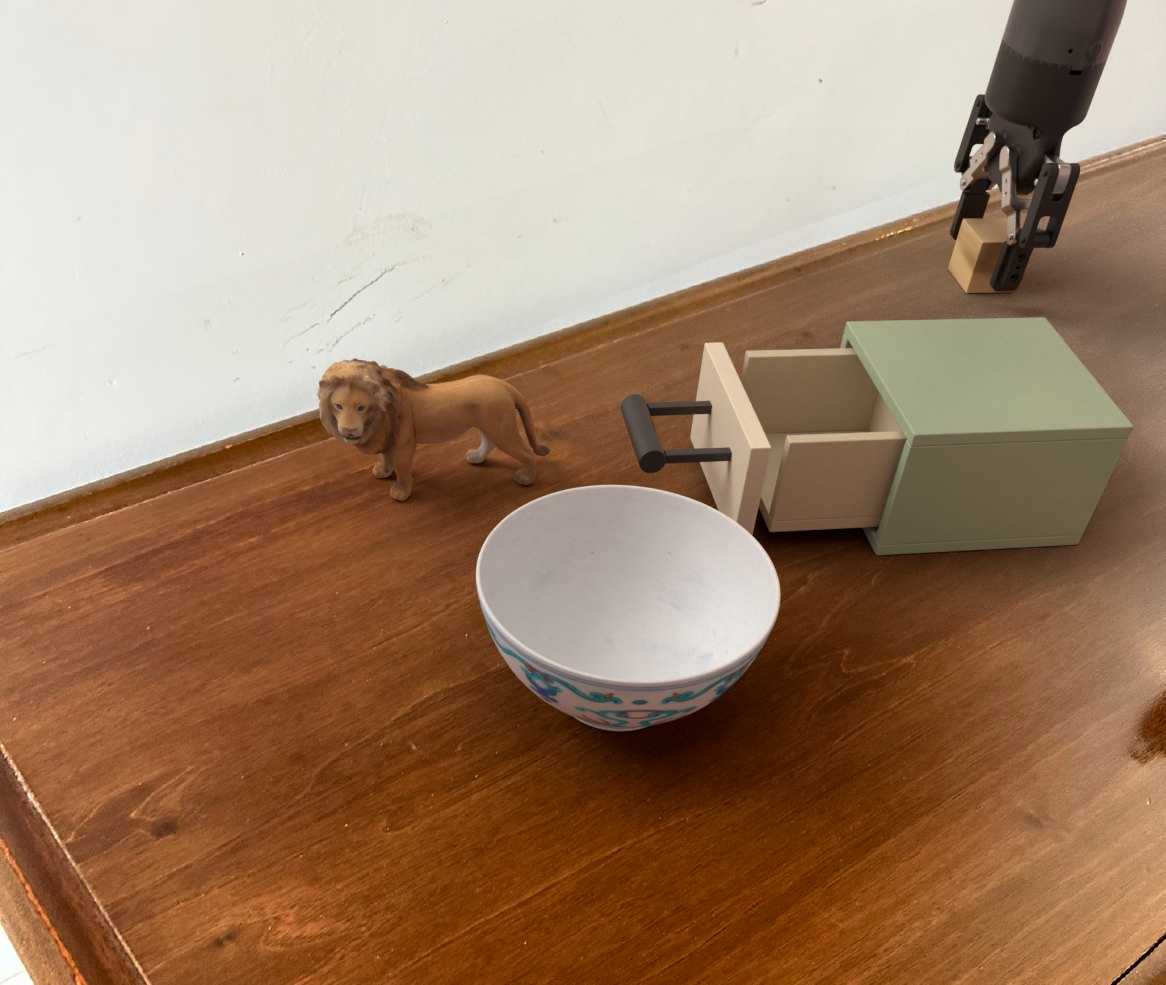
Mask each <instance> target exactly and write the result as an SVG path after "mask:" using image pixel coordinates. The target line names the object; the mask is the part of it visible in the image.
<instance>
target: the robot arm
mask: <svg viewBox="0 0 1166 985" xmlns="http://www.w3.org/2000/svg"><path fill="white" fill-rule="evenodd" d="M1127 4H1128V0H1013V2H1012V4H1011V8H1010V11H1009V14H1008V18H1007V21H1006V24H1005V28H1004V30H1003V35H1002V36H1001V41H1000V45H999V47H998V51H997V54H996V57H995V60H994V62H993V67H992V70H991V73H990V76H989V80H988V82H987V87H986V90H985V93H984V94H983V93H979V94H977V95H976V97H975V100H974V102H973V105H972V108H971V111H970V115H969V117H968V121H967V122H966V126H965V130H964V133H963V136H962V139H961V141H960V144H959V148H958V151H957V154H956V157H955V159H954V162H953V163H954V165H953V170H954V172H955V173H958V174H959V173H960V175H961V176H960V180H959V189H960V191H961V194H960V198H959V200H958V204H957V208H956V210H955V214H954V217H953V220H952V223H951V225H950V230H949V235H950V236H951V238H952V239H953V240H954V241H956V240H957V237H958V234H959V230H960V227H961V224H962V221H963V219H974V218H984V217H985V213H986V210H987V207H988V205H989V201H990V198H991V194H990V193H989V192H988V191H992V190H993V188H994V187H995V186H996V185H997V187H998V190H999V192H1000V193H1001V203H1000V204H1001V207H1000V208H1001V209H1000V210H1001V212H1002V213H1003V214H1005V215H1006V218H1007V237H1006V240H1007V241H1004V243H1003V246H1002V249H1001V252H1000V254H999V257H998V260H997V263H996V266H995V269H994V272H993V275H992V277H991V280H990V286H991V287H992V288H993V289H994V291H1014V292H1015V291H1016V290H1017V289H1018V288H1019V287H1020V284H1021V283H1022V280H1023V278H1024V275H1025V273H1026V269H1027V267H1028V264H1029V262H1030V259H1031V256H1032V254H1033V251H1034V249H1054V247H1055V246H1056V244H1057V241H1058V238H1059V236H1060V233H1061V230H1062V227H1063V224H1064V221H1065V218H1066V215H1067V212H1068V210H1069V207H1070V204H1071V201H1072V198H1073V196H1074V192H1075V189H1076V186H1077V183H1078V180H1079V177H1080V175H1081V165H1080V164H1079V163H1078V162H1065V161H1064V160H1063V159H1061V158H1060V157H1061V150H1062V148H1061V147H1062V143H1063V139H1064V136H1065V135H1066V134H1067V133H1068V132H1069V131H1070V130H1071V129H1073V128H1074V127H1077V126H1079V125H1080V124H1081V123H1083V122H1084V120H1086V117H1087V116H1088V113H1089V110H1090V107H1091V105H1092V102H1093V99H1094V96H1095V94H1096V91H1097V88H1098V87H1099V83H1100V80H1101V78H1102V75H1103V72H1104V70H1105V67H1106V65H1107V62H1108V60H1109V56H1110V54H1111V50H1112V48H1113V45H1114V42H1115V40H1116V37H1117V35H1118V32H1119V29H1120V27H1121V25H1122V20H1123V17H1124V14H1125V11H1126V7H1127ZM975 145H981V146H980V147H979V149H977V151H976V152H975V153H974V154H973V155H971V152H972V150H973V147H974V146H975ZM1031 193H1033V194H1032V197H1031V198H1021V197H1019V196H1029V195H1030V194H1031ZM1022 214H1025V215H1026V216H1025V220H1024V222H1023V225H1022V226H1021V224H1022ZM1045 217H1049V218H1048V220H1047V221H1048V222H1047V224H1046V228H1045Z"/></svg>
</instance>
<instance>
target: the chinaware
mask: <svg viewBox="0 0 1166 985" xmlns="http://www.w3.org/2000/svg"><path fill="white" fill-rule="evenodd" d="M475 584H476V590H477V596H478V600H479V604H480V607H481V611H482V615H483V618H484V621H485V624H486V626H487V629H488V631H489V634H490V636H491V638H492V640H493V642H494V645H495V646H496V648H497V650H498V653H499V654H500V655H501V657H502V658H503V660H504V662H505V663H506V664H507V666H508V667H509V669H510V670H511V671H512V672H513V674H514V675H515V676H516V677H517V678H518V679H519V680H520V682H521V683H522V684H523V685H524V686H525V687H526V688H527V689H529V690H530V691H531V692H532V693H533V694H535V696H537V697H538V698H539V699H541V700H542V701H543V702H545V703H547V704H548V705H550V706H551V707H552V708H555V709H557V710H558V711H560V712H562V713H564V714H566V715H568V716H571V717H573V718H574V719H576V720H577V721H579V722H581V723H583V724H585V725H587V726H590V727H593V728H596V729H599V730H602V731H603V730H604V731H610V732H630V731H636V730H641V729H645V728H647V727H651V726H657V725H662V724H666V723H670V722H673V721H676V720H679V719H681V718H684V717H686V716H689V715H691V714H693V713H695V712H698V711H699V710H700V709H703V708H705V707H706V706H708V705H709V704H710V703H713V702H714V701H716V700H717V699H718V698H719V697H721V696H722V695H723V694H724V693H726V692H727V691H728V690H729V689H730V688H731V687H732V686H733V685H734V684H735V683H736V682H737V681H738V680H739V679H740V678H741V677H742V676H743V674H745V673H746V671H747V670H748V669H749V668H750V666H751V665H752V663H753V662H754V661H755V659H756V658H757V657H758V655H759V653H760V652H761V650H762V649H763V647H764V645H765V644H766V642H767V641H768V638H769V636H770V634H771V633H772V631H773V628H774V626H775V624H776V621H777V618H778V615H779V612H780V607H781V597H782V596H781V585H780V584H781V583H780V579H779V575H778V573H777V570H776V568H775V565H774V563H773V561H772V559H771V557H770V556H769V553H768V552H767V551H766V550H765V549H764V547H763V546H762V544H761V543H760V542H759V541H758V540H757V539H756V538H755V537H754V536H753V535H751V534H750V533H749V532H748V531H747V530H746V529H744V528H743V527H742V526H741V525H739V524H738V523H737V522H735V521H734V520H732V519H731V518H729V517H728V516H726V515H725V514H723V513H721V512H719V510H718V509H716V508H713V507H712V506H710V505H708V504H705V503H703V502H701V501H698V500H697V499H696V500H695V499H693V498H690V497H688V496H685V495H682V494H679V493H675V492H670V491H667V490H663V489H657V488H653V487H647V486H638V485H626V484H597V485H588V486H587V485H585V486H578V487H573V488H568V489H564V490H563V489H562V490H559V491H556V492H552V493H549V494H546V495H544V496H540V497H538V498H536V499H533V500H530V501H529V502H527V503H525V504H523V505H521V506H519V507H518V508H517V509H515V510H513V511H512V512H510V513H509V514H508V515H507V516H505V517H504V518H503V519H502V520H501V521H500V522H499V523H498V524H496V526H494V528H493V529H492V530H491V531H490V533H489V534H488V535H487V537H486V539H485V540H484V542H483V544H482V546H481V549H480V550H479V554H478V557H477V560H476V568H475Z"/></svg>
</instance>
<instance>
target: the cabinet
mask: <svg viewBox="0 0 1166 985" xmlns="http://www.w3.org/2000/svg"><path fill="white" fill-rule="evenodd" d="M839 348H853V349H854V351H855V352H856V354H857V356H858V357H859V359H860V361H861V362H862V364H863V366H864V367H865V369H866V371H867V373H868V374H869V376H870V378H871V379H872V381H873V383H874V384H875V386H876V388H877V389H878V391H879V393H880V395H881V396H882V398H883V400H884V401H885V403H886V405H887V406H888V408H889V410H890V411H891V413H892V415H893V417H894V418H895V420H896V422H897V423H898V425H899V427H900V428H901V430H902V432H903V433H904V435H905V437H906V439H907V440H906V442H905V445H904V448H903V452H902V455H901V458H900V461H899V464H898V467H897V471H896V474H895V477H894V480H893V483H892V487H891V490H890V493H889V496H888V499H887V502H886V506H885V509H884V512H883V515H882V518H881V522H880V525H879V527H862V531H863V532H864V535H865V537H866V538H867V541H868V542H869V544H870V546H871V549H872V550H873V553H874V554H875V556H890V555H910V554H925V553H926V554H929V553H946V552H947V553H948V552H950V553H951V552H964V551H965V552H969V551H983V550H1001V549H1003V550H1005V549H1020V548H1022V549H1024V548H1039V547H1057V546H1058V547H1059V546H1076V545H1077V546H1078V545H1079V543H1080V541H1081V539H1082V537H1083V534H1084V533H1085V530H1086V529H1087V527H1088V524H1089V522H1090V520H1091V518H1092V516H1093V514H1094V512H1095V510H1096V508H1097V505H1098V503H1099V501H1100V499H1101V497H1102V495H1103V493H1104V491H1105V489H1106V486H1107V484H1108V483H1109V480H1110V478H1111V476H1112V474H1113V472H1114V469H1115V468H1116V465H1117V463H1118V461H1119V459H1120V457H1121V455H1122V453H1123V451H1124V449H1125V447H1126V445H1127V442H1128V441H1129V438H1130V436H1131V433H1132V432H1133V430H1134V425H1133V423H1132V422H1131V421H1130V420H1129V419H1128V418H1127V416H1126V414H1124V413H1123V412H1122V410H1121V408H1120V407H1119V406H1118V405H1117V404H1116V403H1115V401H1114V400H1113V398H1111V396H1110V395H1109V393H1107V391H1105V389H1104V388H1103V387H1102V385H1101V384H1100V383H1099V382H1098V381H1097V379H1096V378H1095V377H1094V376H1093V375H1092V373H1091V372H1090V371H1089V369H1088V368H1087V366H1085V365H1084V363H1083V362H1082V361H1081V360H1080V358H1079V357H1078V356H1077V355H1076V353H1075V352H1074V351H1073V350H1072V348H1071V347H1070V346H1069V345H1068V344H1067V342H1066V341H1065V340H1064V339H1063V337H1062V336H1061V335H1060V334H1059V332H1058V331H1057V330H1056V329H1055V328H1054V326H1053V325H1052V324H1051V323H1050V321H1049V320H1048V319H1047V318H1046V317H1044V316H1040V317H1039V316H1037V317H1001V318H1000V317H998V318H997V317H995V318H992V317H991V318H988V317H987V318H947V319H946V318H945V319H944V318H942V319H900V320H899V319H898V320H897V319H896V320H849V321H846V322H845V326H844V331H843V335H842V337H841V342H840V347H839Z"/></svg>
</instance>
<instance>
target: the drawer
mask: <svg viewBox="0 0 1166 985" xmlns="http://www.w3.org/2000/svg"><path fill="white" fill-rule="evenodd" d="M701 358H702V360H701V366H700V371H699V379H698V384H697V390H696V398H695V400H691V401H689V400H686V401H658V402H657V401H655V402H646V399H645V397H643V395H641V394H637V393H632V394H628V395H626V396H625V397H624V398H623V399H622V401H621V403H620V412H621V414H622V417H623V421H624V423H625V427H626V429H627V430H626V431H627V432H628V436H629V439H630V442H631V445H632V448H633V451H634V454H635V457H636V460H637V463H638V467H639V469H640V470H641V471H642V472H644V473H646V474H656V473H657V472H659V471H662V469H664V467H665V465H666V464H668V465H669V464H687V463H688V464H689V463H690V464H693V463H699V465H700V466H701V469H702V472H703V474H704V477H705V479H706V482H707V485H708V487H709V490H710V492H711V495H712V498H713V500H714V503H715V505H716V507H717V510H718V511H719V512H721V513H723V514H725V515H726V516H728V517H729V518H731V519H732V520H734V521H735V522H737V523H738V524H739V525H741V526H742V527H743V528H744V529H746V530H747V531H748V532H749V533H750V534H751V535H752V536H753V534H754V531H755V530H754V529H755V525H756V521H757V517H758V516H757V515H758V511H760V513H761V516H762V518H763V520H764V522H765V525H766V527H767V529H768V532H769V533H776V532H777V533H778V532H780V533H781V532H798V531H818V530H821V531H822V530H837V529H838V530H839V529H840V530H841V529H859V528H862V527H879V525H880V522H881V518H882V515H883V512H884V509H885V506H886V502H887V499H888V496H889V493H890V490H891V487H892V483H893V480H894V477H895V474H896V471H897V467H898V464H899V461H900V458H901V455H902V452H903V448H904V445H905V442H906V440H907V439H906V437H905V435H904V433H903V432H902V430H901V428H900V427H899V425H898V423H897V422H896V420H895V418H894V417H893V415H892V413H891V411H890V410H889V408H888V406H887V405H886V403H885V401H884V400H883V398H882V396H881V395H880V393H879V391H878V389H877V388H876V386H875V384H874V383H873V381H872V379H871V378H870V376H869V374H868V373H867V371H866V369H865V367H864V366H863V364H862V362H861V361H860V359H859V357H858V356H857V354H856V352H855V351H854V349H853V348H840V347H839V348H838V347H837V348H810V349H809V348H801V349H797V348H796V349H762V350H761V349H759V350H757V349H755V350H745V353H744V359H743V364H742V370H741V375H740V376H739V374H738V372H737V370H736V368H735V366H734V363H733V360H732V359H731V357H730V354H729V353H728V350H727V348H726V345H725V344H724V342H705V343H704V347H703V352H702V357H701ZM689 415H691V416H692V415H693V416H692V424H691V430H690V440H691V441H690V442H691V444H692V446H693V448H677V449H673V448H672V449H664V448H663V446H662V443H661V440H660V437H659V434H658V432H657V428H656V426H655V423H654V420H653V417H658V416H659V417H660V416H661V417H662V416H663V417H664V416H689Z"/></svg>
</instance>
